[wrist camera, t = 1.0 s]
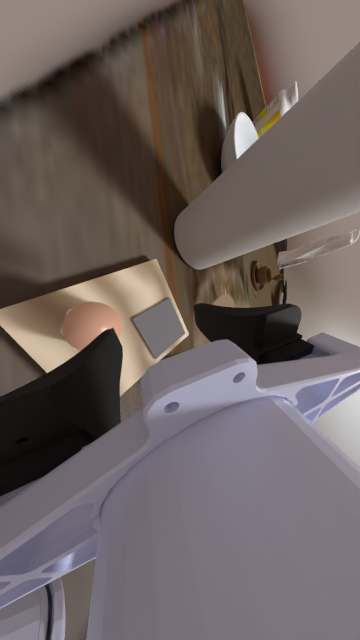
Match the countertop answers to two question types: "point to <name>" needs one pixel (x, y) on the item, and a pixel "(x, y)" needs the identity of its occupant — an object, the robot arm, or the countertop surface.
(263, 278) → the place setting
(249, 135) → the serving bowl
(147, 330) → the pad
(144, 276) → the board
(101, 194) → the countertop surface
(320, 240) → the skyscraper
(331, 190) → the cylinder vase
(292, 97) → the supplement bottle
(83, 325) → the brown egg in cup
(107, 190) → the countertop surface
